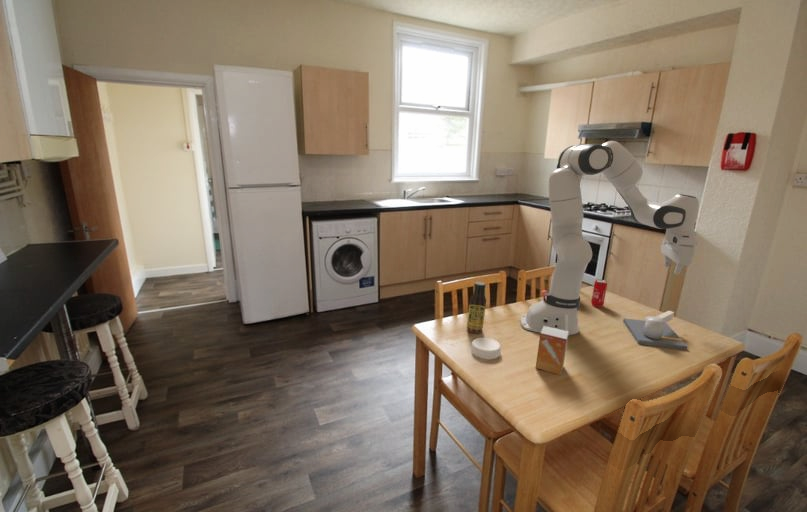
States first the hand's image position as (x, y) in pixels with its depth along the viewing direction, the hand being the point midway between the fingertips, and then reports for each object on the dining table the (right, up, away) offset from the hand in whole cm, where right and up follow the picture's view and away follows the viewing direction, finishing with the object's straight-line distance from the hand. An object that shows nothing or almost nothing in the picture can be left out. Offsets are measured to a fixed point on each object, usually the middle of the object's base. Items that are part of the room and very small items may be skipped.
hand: (671, 270), depth 154 cm
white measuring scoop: (-8, -24, -4) cm, 25 cm away
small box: (-59, -32, -26) cm, 72 cm away
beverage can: (-17, -18, +26) cm, 36 cm away
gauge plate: (-9, -26, -2) cm, 27 cm away
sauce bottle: (-79, -24, -2) cm, 83 cm away
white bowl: (-78, -29, -18) cm, 85 cm away
